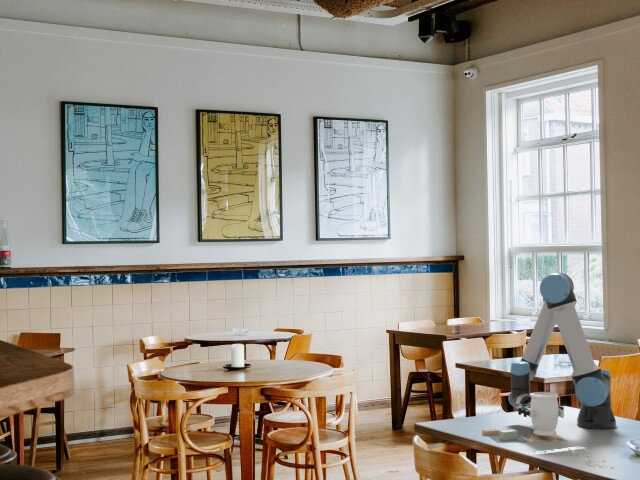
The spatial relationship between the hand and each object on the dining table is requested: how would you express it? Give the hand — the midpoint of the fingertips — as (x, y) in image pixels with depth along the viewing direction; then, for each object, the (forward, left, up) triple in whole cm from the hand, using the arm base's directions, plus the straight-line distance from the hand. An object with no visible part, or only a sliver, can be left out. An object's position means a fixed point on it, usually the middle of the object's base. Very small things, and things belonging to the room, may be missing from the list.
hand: (548, 414), depth 303 cm
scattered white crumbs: (-5, +26, -11) cm, 29 cm away
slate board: (+14, -4, -11) cm, 18 cm away
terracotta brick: (+18, -13, -11) cm, 25 cm away
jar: (0, -4, -8) cm, 9 cm away
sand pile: (0, -4, -11) cm, 11 cm away
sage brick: (+14, -4, -9) cm, 17 cm away
